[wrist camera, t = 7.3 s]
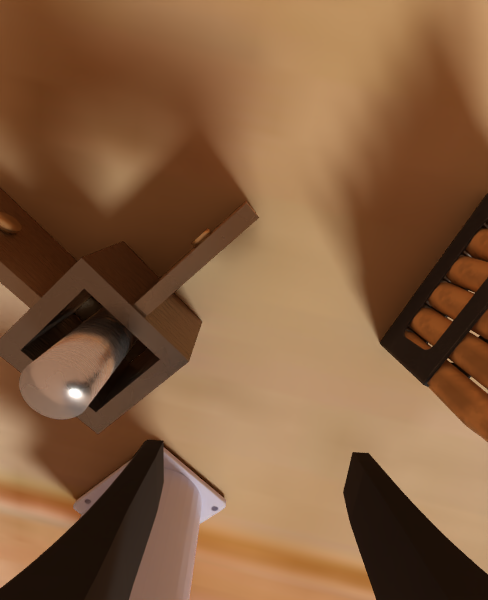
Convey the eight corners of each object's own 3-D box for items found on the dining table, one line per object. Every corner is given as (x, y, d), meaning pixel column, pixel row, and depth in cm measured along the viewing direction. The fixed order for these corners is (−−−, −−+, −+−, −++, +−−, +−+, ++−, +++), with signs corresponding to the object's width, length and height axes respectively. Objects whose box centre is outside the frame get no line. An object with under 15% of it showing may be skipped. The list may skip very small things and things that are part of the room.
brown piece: (130, 381, 22) (97, 434, 17) (-46, 226, 18) (-148, 237, 13) (287, 251, 19) (302, 270, 14) (113, 38, 15) (54, -32, 11)
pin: (128, 344, 21) (60, 430, 13) (96, 314, 20) (4, 387, 12) (158, 318, 20) (105, 393, 12) (125, 286, 19) (48, 345, 12)
